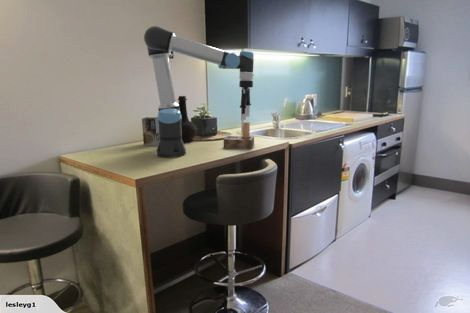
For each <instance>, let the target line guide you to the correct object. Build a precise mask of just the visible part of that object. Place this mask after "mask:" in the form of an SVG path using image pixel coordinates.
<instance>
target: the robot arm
mask: <svg viewBox="0 0 470 313" xmlns="http://www.w3.org/2000/svg"><path fill="white" fill-rule="evenodd" d="M143 41H144V43H145V45H146V47H147V48H146V49H147V53H148V54H147V55H148V57H149V58H150V59H151V60H152V64H153V71H154V76H155V82H156V88H157V93H158V100H159V105H158V108H157V109H158V112H157V117H158V123H159V144H158V146H157V148H156V156H157V157H161V158H177V157H178V158H179V157H182V156H185V155H187V154H186V153H187V150H186V146H185V145H184V142H183V141H182V129H181V122H182V116H181V112H180V107H179V103H178V102H177V101H176V96H175V89H174V82H173V76H172V72H171V71H172V70H171V65H170V56H171V55H172V53H171V52H175V53H177V54H181V55H185V56H187V57H191V58H194V59H197V60H200V61H204V62H208V63H211V64H215V65H216V66H218V68H219V69H223V70H225V69H227V70H229V69H230V70H239V78H238V79H239V88H242V89H241V99H240V106H239V108H240V120H242V121H243V120H244V121H247V118H249V117H250V112H251V111H250V106H251V105H252V104H251V94H250V93H251V91H250V90H251V88H253V87H254V81H253V80H254V76H255V74H254V62H255V59H254V52H253V51H251V50H250V51H249V50H241V51H240V52H239V54H237V53H235V52H230V51H227V50H223V49H219V48H216V47H213V46H210V45H207V44H204V43H201V42H197V41H194V40H192V39H188V38H184V37H181V36H178V35H176V34H175V33H174V32H173V31H170V30H166V29H165V28H162V27H160V26H158V25H153V26H150V27H149V28H146V30H145V32H144V34H143Z"/></svg>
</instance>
